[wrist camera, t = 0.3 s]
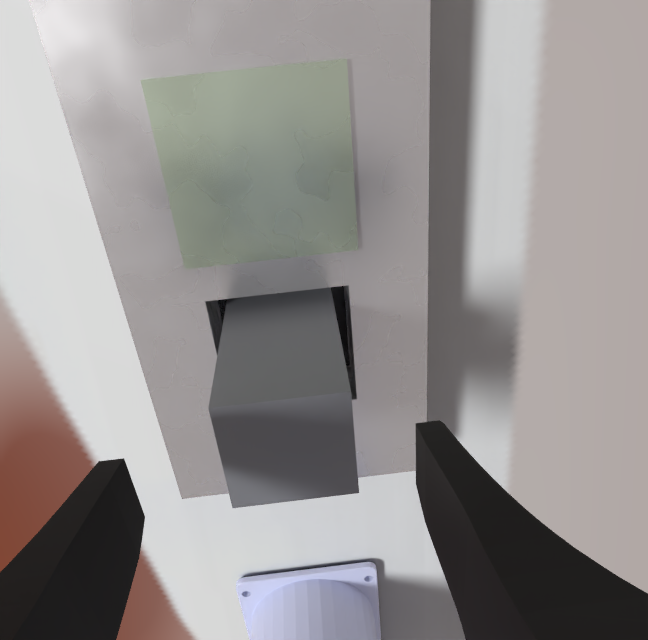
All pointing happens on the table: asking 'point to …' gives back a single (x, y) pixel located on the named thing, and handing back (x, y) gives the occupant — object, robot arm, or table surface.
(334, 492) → the grey rectangular block
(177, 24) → the plate
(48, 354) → the table surface
